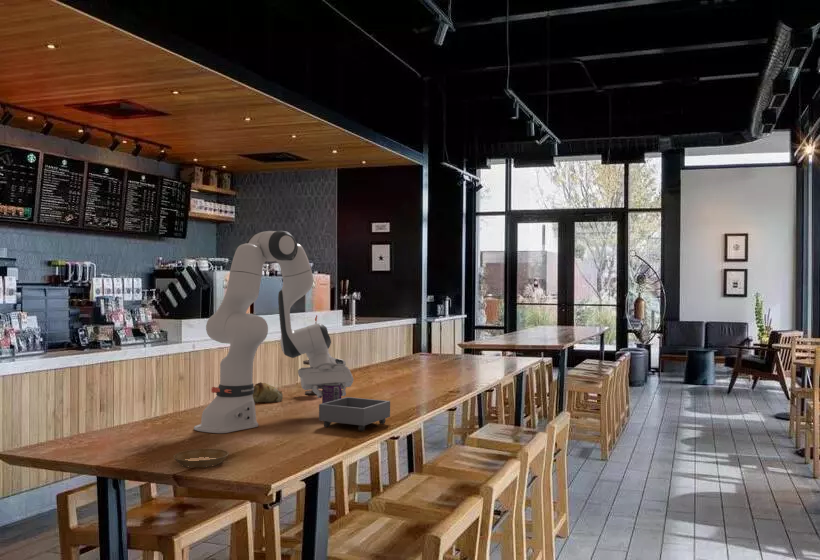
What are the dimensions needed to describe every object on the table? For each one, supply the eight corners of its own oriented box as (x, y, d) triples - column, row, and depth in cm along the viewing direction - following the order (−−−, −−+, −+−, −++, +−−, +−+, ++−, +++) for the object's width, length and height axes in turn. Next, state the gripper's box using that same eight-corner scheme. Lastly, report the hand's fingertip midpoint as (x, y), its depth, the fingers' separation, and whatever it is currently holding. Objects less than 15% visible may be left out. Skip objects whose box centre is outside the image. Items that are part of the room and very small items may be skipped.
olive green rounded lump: (242, 401, 308) (242, 382, 308) (261, 397, 319) (261, 378, 319) (269, 404, 302) (270, 384, 302) (288, 400, 313) (288, 381, 313)
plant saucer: (163, 469, 201) (163, 459, 201) (187, 456, 215) (187, 447, 215) (215, 471, 199) (215, 461, 199) (236, 458, 213) (236, 449, 213)
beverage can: (342, 414, 281) (343, 382, 281) (339, 417, 274) (339, 385, 274) (324, 413, 282) (324, 382, 282) (320, 417, 275) (320, 384, 274)
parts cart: (363, 432, 248) (364, 408, 248) (318, 427, 256) (319, 404, 256) (390, 423, 264) (390, 401, 264) (346, 418, 272) (347, 396, 272)
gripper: (298, 363, 279) (308, 392, 271) (348, 360, 289) (359, 388, 280) (294, 373, 283) (303, 403, 274) (344, 370, 293) (354, 399, 284)
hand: (332, 395), depth 277 cm, fingers open, 8 cm apart
